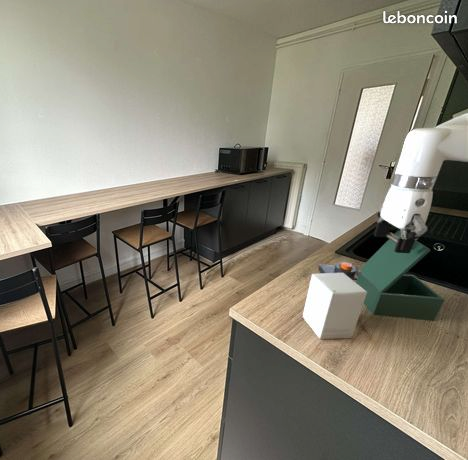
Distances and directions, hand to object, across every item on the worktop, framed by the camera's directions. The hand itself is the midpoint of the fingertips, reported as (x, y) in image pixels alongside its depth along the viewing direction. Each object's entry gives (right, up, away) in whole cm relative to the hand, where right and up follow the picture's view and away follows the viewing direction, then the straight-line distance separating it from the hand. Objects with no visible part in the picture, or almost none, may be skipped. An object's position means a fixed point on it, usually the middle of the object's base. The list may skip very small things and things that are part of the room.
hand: (390, 244), depth 68 cm
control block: (+2, -13, +23) cm, 27 cm away
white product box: (-16, -23, +2) cm, 29 cm away
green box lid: (+2, -5, +2) cm, 6 cm away
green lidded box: (+6, -20, +7) cm, 22 cm away
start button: (+4, -10, +22) cm, 24 cm away
